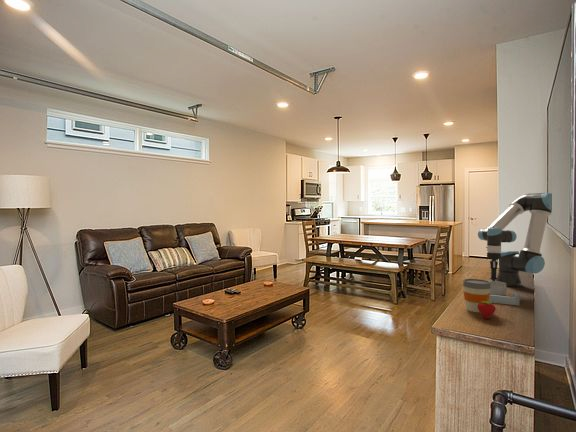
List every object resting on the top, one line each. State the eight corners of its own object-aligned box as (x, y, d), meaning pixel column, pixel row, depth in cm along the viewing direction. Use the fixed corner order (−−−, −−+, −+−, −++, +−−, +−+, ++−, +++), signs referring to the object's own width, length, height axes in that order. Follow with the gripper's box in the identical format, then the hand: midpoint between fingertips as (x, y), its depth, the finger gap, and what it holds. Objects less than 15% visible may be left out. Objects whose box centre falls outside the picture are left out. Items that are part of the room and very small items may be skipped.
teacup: (509, 298, 195) (509, 284, 195) (489, 297, 197) (489, 284, 197) (499, 292, 208) (499, 279, 208) (480, 292, 210) (480, 279, 210)
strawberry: (478, 315, 163) (478, 295, 163) (496, 318, 159) (496, 297, 159) (476, 318, 159) (476, 297, 159) (494, 322, 154) (494, 300, 154)
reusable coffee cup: (488, 315, 164) (489, 284, 164) (460, 310, 172) (460, 281, 172) (491, 309, 174) (492, 280, 174) (465, 305, 182) (465, 277, 182)
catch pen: (475, 294, 204) (475, 286, 204) (516, 298, 194) (516, 289, 194) (475, 300, 190) (475, 291, 190) (519, 305, 180) (519, 296, 180)
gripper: (486, 250, 216) (486, 286, 217) (487, 253, 205) (486, 291, 206) (500, 251, 213) (499, 288, 213) (501, 253, 201) (501, 292, 202)
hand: (493, 289), depth 209 cm, fingers closed
